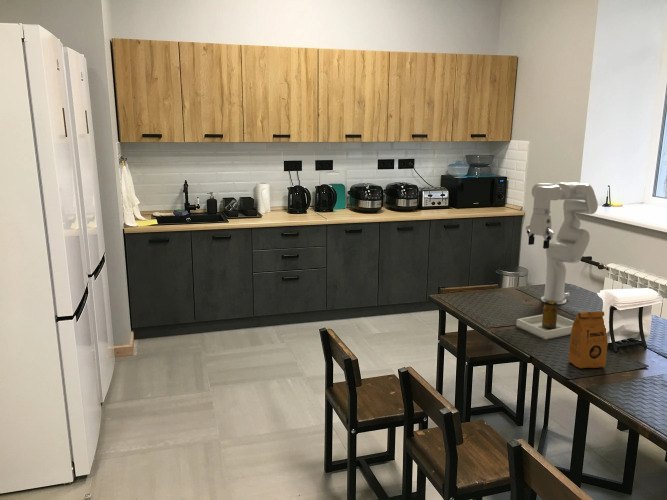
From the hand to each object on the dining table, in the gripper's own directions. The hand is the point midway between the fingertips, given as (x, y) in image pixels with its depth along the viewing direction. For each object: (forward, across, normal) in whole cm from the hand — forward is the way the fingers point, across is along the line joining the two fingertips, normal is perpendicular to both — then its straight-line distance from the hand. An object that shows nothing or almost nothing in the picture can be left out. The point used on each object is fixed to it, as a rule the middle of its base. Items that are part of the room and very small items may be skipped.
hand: (538, 246), depth 278 cm
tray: (+33, -22, +12) cm, 42 cm away
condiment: (+33, -23, +12) cm, 41 cm away
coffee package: (+34, -58, +29) cm, 73 cm away
